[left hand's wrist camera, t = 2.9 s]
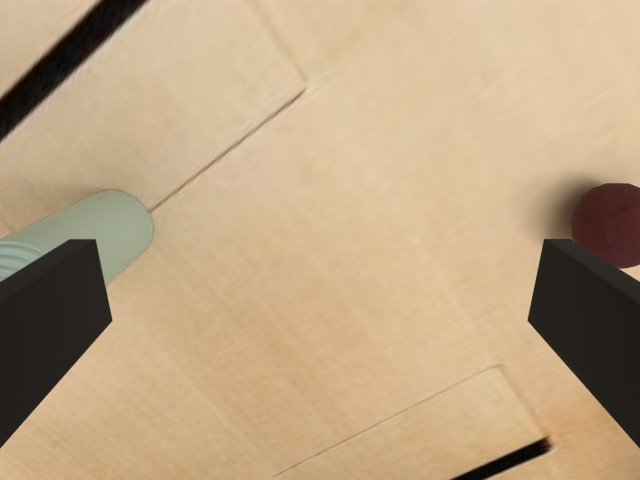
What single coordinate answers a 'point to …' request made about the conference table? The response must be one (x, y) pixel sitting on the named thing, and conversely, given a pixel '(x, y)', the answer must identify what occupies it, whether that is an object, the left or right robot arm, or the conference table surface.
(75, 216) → the bottle
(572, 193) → the conference table surface
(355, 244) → the conference table surface
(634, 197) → the dark red ball
